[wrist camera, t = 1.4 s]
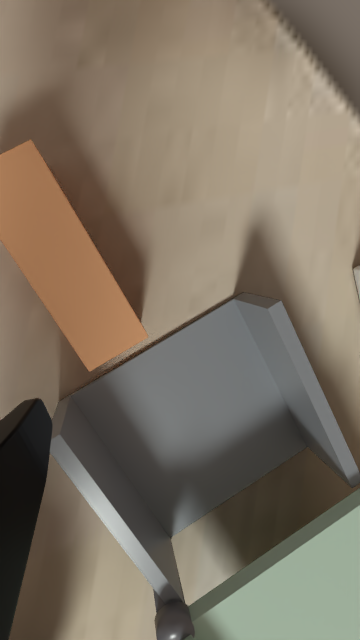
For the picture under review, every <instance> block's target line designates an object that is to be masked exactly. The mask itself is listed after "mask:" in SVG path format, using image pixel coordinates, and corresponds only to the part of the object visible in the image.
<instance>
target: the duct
mask: <svg viewBox="0 0 360 640" xmlns="http://www.w3.org/2000/svg"><path fill="white" fill-rule="evenodd" d="M52 424H53V429H52V438H51V446H50V453H51V454H52V456H53V457H54V458H55V460H56V461H57V462H58V464H59V465H60V466H61V468H62V469H63V470H64V471H65V473H66V474H67V475H68V477H69V478H70V479H71V481H72V482H73V483H74V485H75V486H76V487H77V489H78V490H79V491H80V493H81V494H82V495H83V496H84V498H85V499H86V500H87V502H88V503H89V504H90V506H91V507H92V508H93V510H94V511H95V512H96V514H97V515H98V516H99V517H100V519H101V520H102V521H103V523H104V524H105V525H106V527H107V528H108V529H109V531H110V532H111V533H112V535H113V536H114V537H115V538H116V540H117V541H118V542H119V544H120V545H121V546H122V548H123V549H124V550H125V552H126V553H127V554H128V556H129V557H130V558H131V560H132V561H133V562H134V563H135V565H136V566H137V567H138V569H139V570H140V571H141V573H142V574H143V575H144V577H145V578H146V579H147V581H148V582H149V583H150V584H151V586H152V587H153V591H154V598H155V605H156V612H158V611H159V610H160V609H161V608H162V607H163V606H164V605H166V604H168V603H171V602H183V603H185V600H184V595H183V591H182V587H181V582H180V578H179V573H178V569H177V564H176V560H175V556H174V551H173V547H172V542H171V537H172V536H174V535H175V534H177V533H178V532H180V531H181V530H183V529H184V528H186V527H187V526H189V525H190V524H192V523H193V522H195V521H196V520H198V519H199V518H201V517H202V516H204V515H205V514H207V513H208V512H210V511H211V510H213V509H215V508H216V507H218V506H219V505H221V504H222V503H224V502H225V501H227V500H228V499H230V498H231V497H233V496H234V495H236V494H237V493H239V492H240V491H242V490H243V489H245V488H246V487H248V486H249V485H251V484H252V483H254V482H255V481H257V480H258V479H260V478H261V477H263V476H264V475H266V474H267V473H269V472H270V471H272V470H273V469H275V468H276V467H278V466H279V465H281V464H282V463H284V462H285V461H287V460H288V459H290V458H291V457H293V456H294V455H296V454H297V453H299V452H300V451H302V450H303V449H305V448H306V447H308V448H309V449H310V450H311V451H312V452H314V453H315V454H316V455H317V456H318V457H319V458H320V459H321V460H322V461H323V462H324V463H325V464H327V465H328V466H329V467H330V468H331V469H332V470H333V471H334V472H335V473H336V474H337V475H338V476H340V477H341V478H342V479H343V480H344V481H345V482H346V483H347V484H348V485H349V486H350V487H351V488H353V487H355V486H356V485H358V484H359V483H360V472H359V470H358V467H357V465H356V463H355V461H354V459H353V456H352V454H351V452H350V450H349V448H348V446H347V443H346V441H345V439H344V437H343V435H342V432H341V430H340V428H339V426H338V424H337V421H336V419H335V417H334V415H333V413H332V410H331V408H330V406H329V404H328V402H327V400H326V397H325V395H324V393H323V391H322V389H321V386H320V384H319V382H318V380H317V378H316V375H315V373H314V371H313V369H312V367H311V365H310V362H309V360H308V358H307V356H306V354H305V351H304V349H303V347H302V345H301V343H300V340H299V338H298V336H297V334H296V332H295V329H294V327H293V325H292V323H291V321H290V319H289V316H288V314H287V312H286V310H285V308H284V305H283V303H282V301H281V300H277V299H272V298H267V297H263V296H258V295H254V294H249V293H244V292H243V293H241V294H240V295H238V296H236V297H235V298H233V299H231V300H230V301H228V302H226V303H224V304H223V305H221V306H219V307H218V308H216V309H214V310H213V311H211V312H209V313H208V314H206V315H204V316H203V317H201V318H199V319H197V320H196V321H194V322H192V323H191V324H189V325H187V326H186V327H184V328H182V329H181V330H179V331H177V332H176V333H174V334H172V335H170V336H169V337H167V338H165V339H164V340H162V341H160V342H159V343H157V344H155V345H154V346H152V347H150V348H149V349H147V350H145V351H143V352H142V353H140V354H138V355H137V356H135V357H133V358H132V359H130V360H128V361H127V362H125V363H123V364H122V365H120V366H118V367H116V368H115V369H113V370H111V371H110V372H108V373H106V374H105V375H103V376H101V377H100V378H98V379H96V380H94V381H93V382H91V383H89V384H88V385H86V386H84V387H83V388H81V389H79V390H78V391H76V392H74V393H73V394H71V395H69V396H67V397H66V398H64V399H62V400H61V401H59V402H58V405H57V408H56V411H55V413H54V416H53V419H52Z"/></svg>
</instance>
